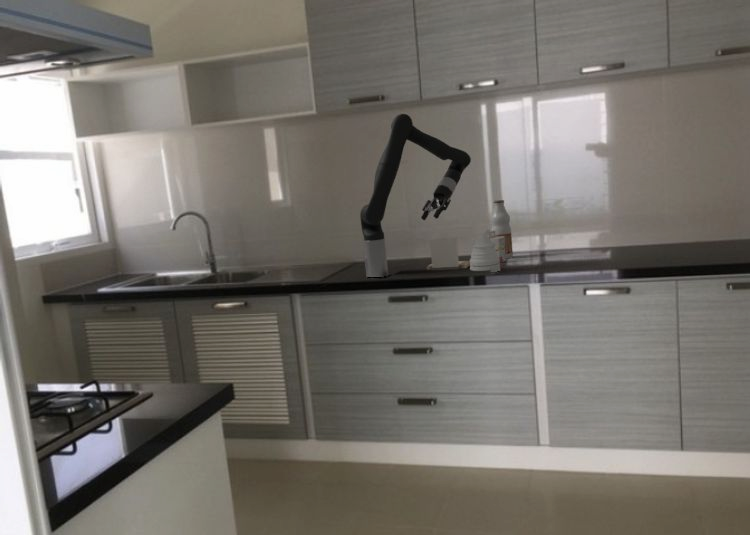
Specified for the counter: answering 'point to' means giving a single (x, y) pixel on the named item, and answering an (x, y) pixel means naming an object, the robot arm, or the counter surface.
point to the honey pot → (484, 254)
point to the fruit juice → (502, 226)
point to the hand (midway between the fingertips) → (429, 218)
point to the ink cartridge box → (498, 245)
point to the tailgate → (444, 253)
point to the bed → (461, 265)
